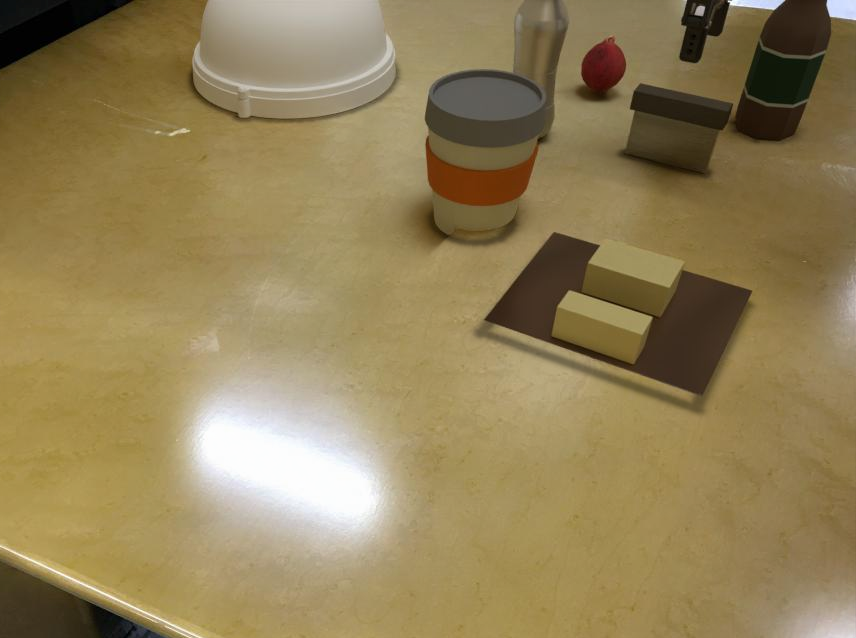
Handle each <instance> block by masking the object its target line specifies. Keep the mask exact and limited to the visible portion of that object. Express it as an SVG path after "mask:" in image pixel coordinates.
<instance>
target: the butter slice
mask: <svg viewBox="0 0 856 638" xmlns="http://www.w3.org/2000/svg"><path fill="white" fill-rule="evenodd" d="M652 319H653V317H651V316H648V315H645V314H642V313H639V312H636V311H633V310H629V309H626V308H623V307H620V306H617V305H614V304H611V303H608V302H605V301H601V300H598V299H595V298H592V297H589V296H586V295H583V294H580V293H577V292H573V291H570V290H569V291H568V292H567V294H566V295H565V297H564V298H563V299H562V301H561V302H560V304H559V305H558V306H557V310H556V315H555V320H554V325H553V330H552V335H551V336H552V337H555V338H558V339H561V340H564V341H567V342H569V343H572V344H575V345H578V346H581V347H584V348H587V349H590V350H593V351H595V352H598V353H601V354H604V355H607V356H610V357H613V358H616V359H619V360H621V361H624V362H627V363H630V364H634V363H635V362H636V360H637V358H638V357H639V355H640V353H641V351H642V350H643V348H644V346H645V342H646V339H647V336H648V332H649V329H650V326H651V322H652Z"/></svg>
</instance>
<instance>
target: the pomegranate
mask: <svg viewBox="0 0 856 638" xmlns="http://www.w3.org/2000/svg"><path fill="white" fill-rule="evenodd" d="M615 41H616V37H615V36H614V35H613V34H610V35H607V36H606V37H604V39H603V41H601V42H599V43H597V44H595V45H594V46H593V47H592V48H590V49H589V50H588V51H587V52H586V54H585V55H584V57H583V59H582V62H581V71H580V75H581V79H582V81H583V83H584V84H585V85H586V86H587V88H588V89H590V90H591V91H592V92H593V93H595V94H597V95H601V94H603V93H605V92H607V91H608V90H610V89H612V88H614V87H616V86H617V85H618V84H619V83H620V81H622V79H623V78H624V75H625V73H626V69H627V60H626V57H625V54H624V52H623V50H622V48H621V47H620V46H619V45H617V44H616V43H615Z"/></svg>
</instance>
